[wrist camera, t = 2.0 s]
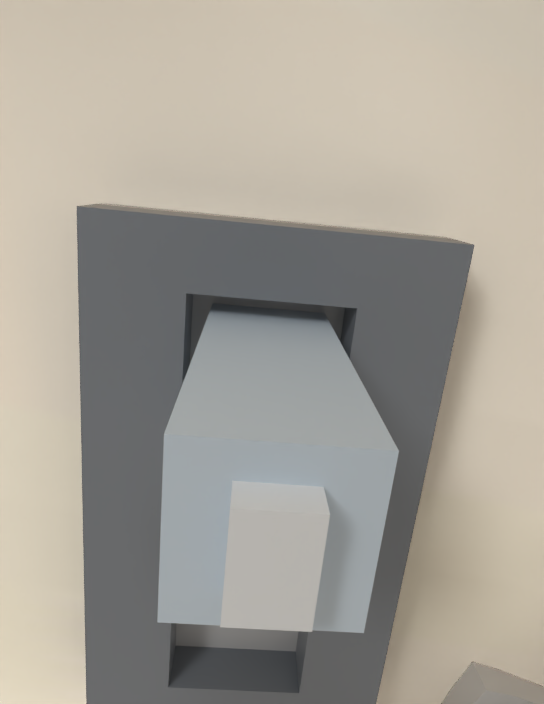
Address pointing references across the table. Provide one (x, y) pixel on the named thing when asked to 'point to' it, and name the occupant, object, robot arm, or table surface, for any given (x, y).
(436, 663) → the table surface
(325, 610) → the plug
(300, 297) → the jack panel
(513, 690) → the grey lumpy block
